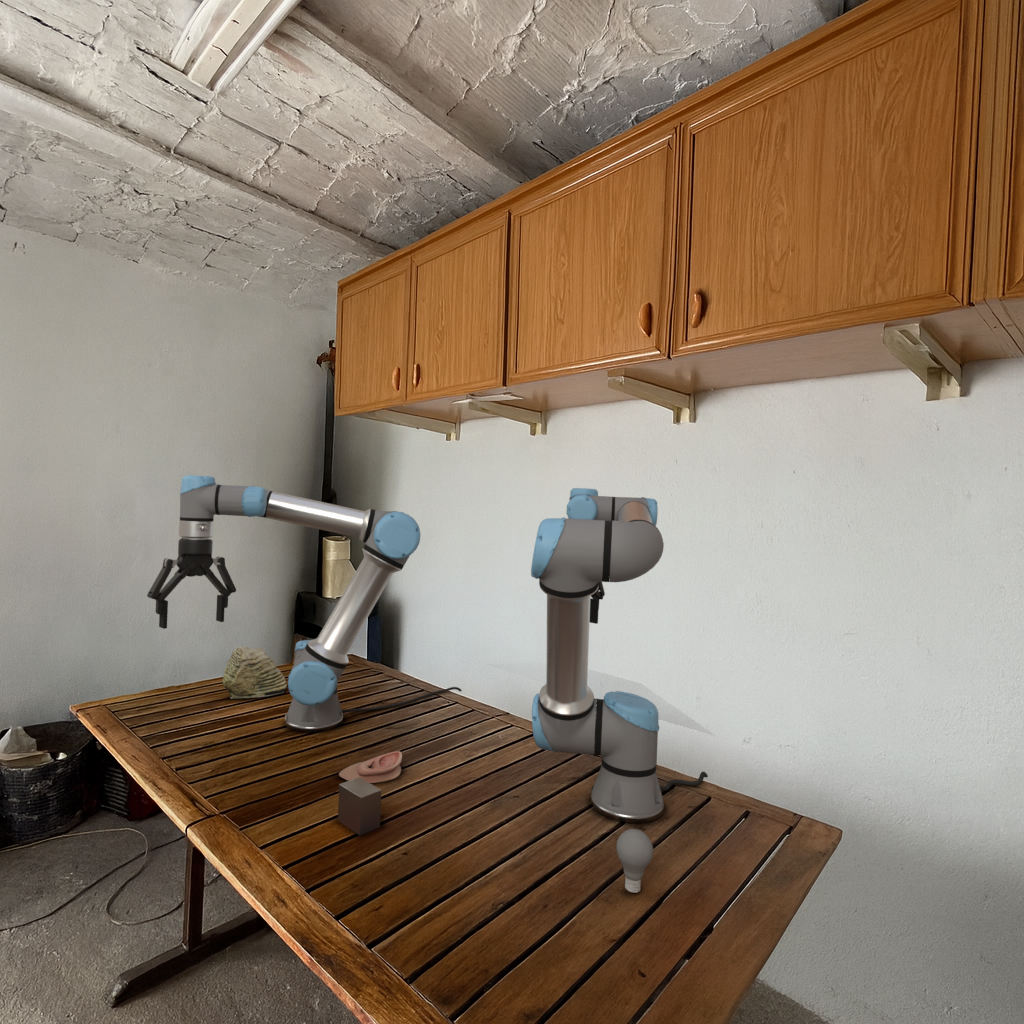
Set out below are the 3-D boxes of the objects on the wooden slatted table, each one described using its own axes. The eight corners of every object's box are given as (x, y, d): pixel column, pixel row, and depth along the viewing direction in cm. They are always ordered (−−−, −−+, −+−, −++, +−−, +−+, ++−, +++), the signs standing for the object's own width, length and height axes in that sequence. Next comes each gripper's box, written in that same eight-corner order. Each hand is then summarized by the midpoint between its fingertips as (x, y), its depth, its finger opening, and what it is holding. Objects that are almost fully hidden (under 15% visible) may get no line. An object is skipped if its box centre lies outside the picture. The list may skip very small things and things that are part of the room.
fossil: (218, 695, 195) (220, 647, 195) (278, 685, 208) (279, 640, 207) (228, 703, 189) (230, 653, 188) (289, 692, 201) (290, 645, 201)
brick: (337, 820, 124) (339, 783, 124) (357, 812, 128) (359, 777, 128) (359, 835, 119) (361, 797, 119) (380, 827, 123) (381, 789, 122)
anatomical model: (332, 762, 141) (355, 743, 152) (332, 780, 141) (355, 759, 153) (388, 770, 139) (407, 750, 150) (388, 788, 139) (407, 766, 150)
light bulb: (610, 879, 108) (613, 822, 108) (644, 879, 109) (647, 822, 109) (619, 902, 102) (622, 840, 102) (655, 901, 103) (658, 840, 103)
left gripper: (146, 540, 144) (142, 633, 144) (252, 538, 163) (248, 620, 163) (134, 537, 149) (130, 627, 149) (238, 536, 168) (234, 616, 168)
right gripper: (564, 548, 157) (560, 634, 157) (619, 546, 175) (616, 622, 176) (540, 546, 162) (537, 628, 162) (597, 544, 180) (593, 618, 181)
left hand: (192, 624), depth 156 cm, fingers open, 13 cm apart
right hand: (578, 625), depth 169 cm, fingers open, 13 cm apart
